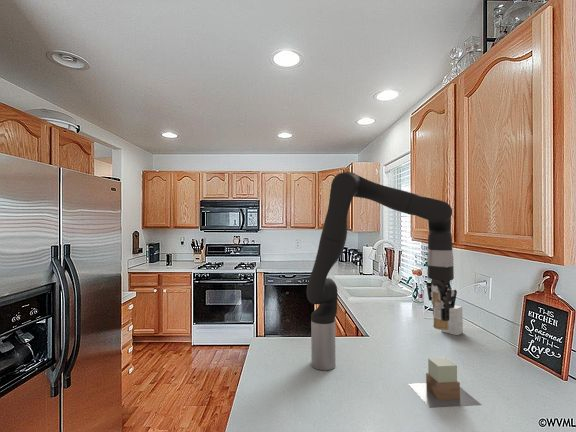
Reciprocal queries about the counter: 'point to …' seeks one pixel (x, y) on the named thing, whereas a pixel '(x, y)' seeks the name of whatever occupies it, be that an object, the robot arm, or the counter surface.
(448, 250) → the robot arm
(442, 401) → the slate board
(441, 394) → the walnut base block
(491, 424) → the counter surface
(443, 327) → the sprinkles bottle
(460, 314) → the small box
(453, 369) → the sage top block
